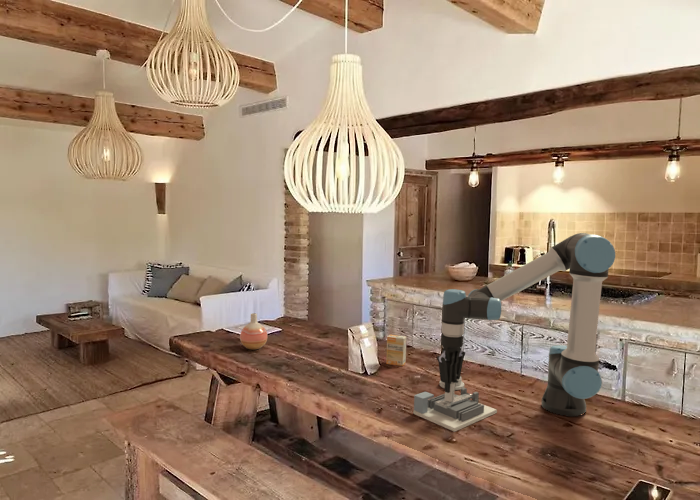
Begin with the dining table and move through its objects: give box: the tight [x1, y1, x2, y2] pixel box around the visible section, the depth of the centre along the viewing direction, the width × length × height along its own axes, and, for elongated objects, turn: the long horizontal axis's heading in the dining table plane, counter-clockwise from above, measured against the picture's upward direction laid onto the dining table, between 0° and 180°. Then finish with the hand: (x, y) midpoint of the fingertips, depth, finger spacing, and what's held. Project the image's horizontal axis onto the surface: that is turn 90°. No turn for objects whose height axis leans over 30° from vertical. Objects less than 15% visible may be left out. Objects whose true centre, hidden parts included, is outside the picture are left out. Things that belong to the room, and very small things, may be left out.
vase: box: [239, 312, 268, 351], centre depth 255 cm, size 14×14×18 cm
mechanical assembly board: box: [413, 387, 498, 433], centre depth 179 cm, size 18×24×6 cm
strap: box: [435, 392, 473, 409], centre depth 179 cm, size 5×17×1 cm, turn 130°
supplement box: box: [385, 334, 407, 367], centre depth 233 cm, size 8×5×13 cm, turn 68°
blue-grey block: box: [413, 391, 435, 414], centre depth 179 cm, size 4×6×5 cm
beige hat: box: [439, 375, 465, 391], centre depth 207 cm, size 10×4×10 cm
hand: (449, 400), depth 177 cm, fingers closed
